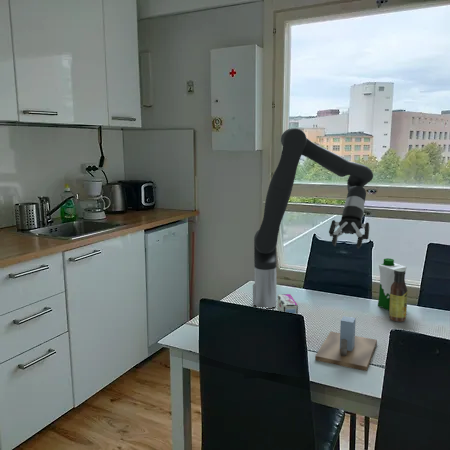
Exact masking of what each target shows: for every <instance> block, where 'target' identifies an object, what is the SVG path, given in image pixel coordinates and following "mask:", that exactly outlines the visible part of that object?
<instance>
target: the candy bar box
mask: <svg viewBox="0 0 450 450" xmlns="http://www.w3.org/2000/svg"><path fill="white" fill-rule="evenodd" d="M276 307H277V309H276V310H277V311H283V312H289V313H295V314H298V313H299V311H298V309H299V305H298V303H297V301H295V299H294V298H293V296H292V294H291V293H287V294H285V293H283V294H277V303H276Z"/></svg>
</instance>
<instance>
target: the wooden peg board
mask: <svg viewBox="0 0 450 450" xmlns="http://www.w3.org/2000/svg"><path fill="white" fill-rule="evenodd" d="M377 343H378V340H377V339H376V338H375V339H374V338H368V337H363V336H358V335H355V344H354V348H353V350H352V351H348V350H347V340H346V339H341V349H340V332H335V331H329V334H328V335H327V337H326V338H325V340H324V341H323V343H322V344H321V346H320V347H319V349H318V351H317V353H316V354H315V356H314V357H315V358H314V361H317V362H322V363H327V364H332V365H336V366H341V367H345V368H350V369H353V370H360V371H363V372H367V371H368V370H369V369H368V368H369V366H370V363H371V361H372V358H373V355H374V353H375V349H376V346H377V345H378V344H377Z"/></svg>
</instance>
